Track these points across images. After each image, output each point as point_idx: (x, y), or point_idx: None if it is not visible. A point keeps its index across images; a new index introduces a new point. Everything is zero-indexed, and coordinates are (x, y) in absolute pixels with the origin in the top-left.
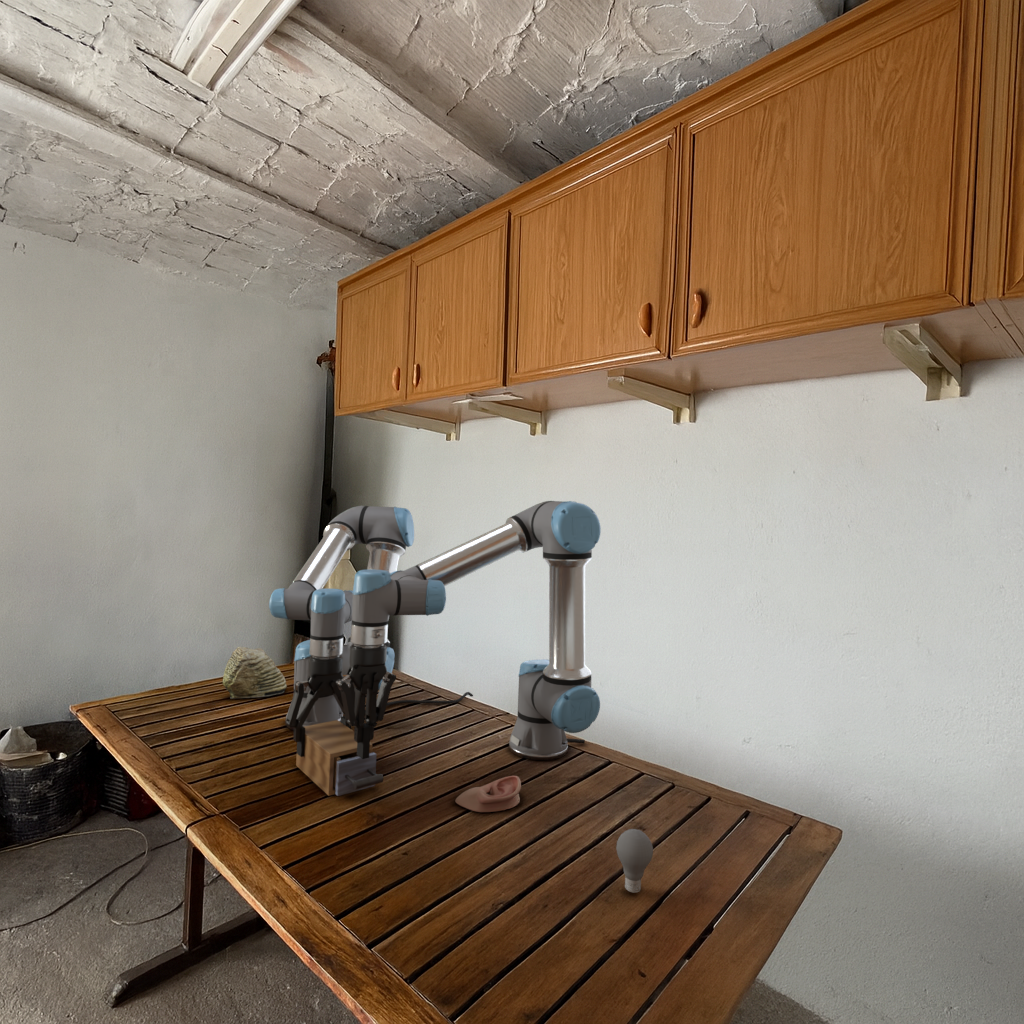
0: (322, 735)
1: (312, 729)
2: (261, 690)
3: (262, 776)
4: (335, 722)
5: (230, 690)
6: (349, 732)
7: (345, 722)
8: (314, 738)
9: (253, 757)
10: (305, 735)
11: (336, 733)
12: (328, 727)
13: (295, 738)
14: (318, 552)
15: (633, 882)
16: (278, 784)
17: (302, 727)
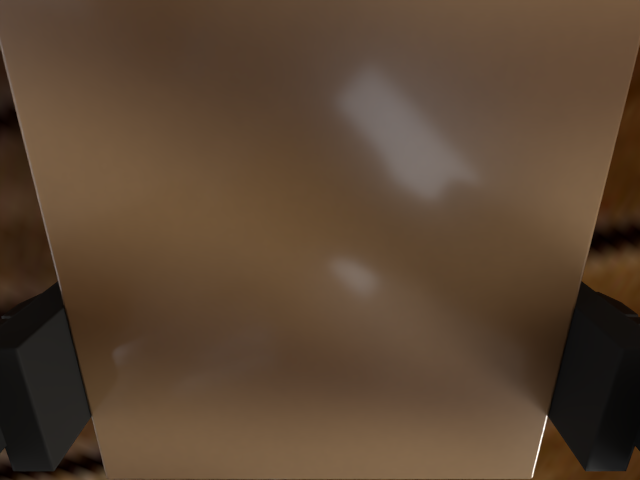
0: (446, 146)
1: (440, 379)
2: None
3: (627, 268)
4: (145, 432)
5: None
6: (73, 38)
7: (41, 331)
8: (584, 103)
9: (538, 468)
10: (572, 287)
11: (255, 112)
12: (265, 348)
13: (632, 316)
14: None
15: None
16: (628, 126)
17: (635, 384)
